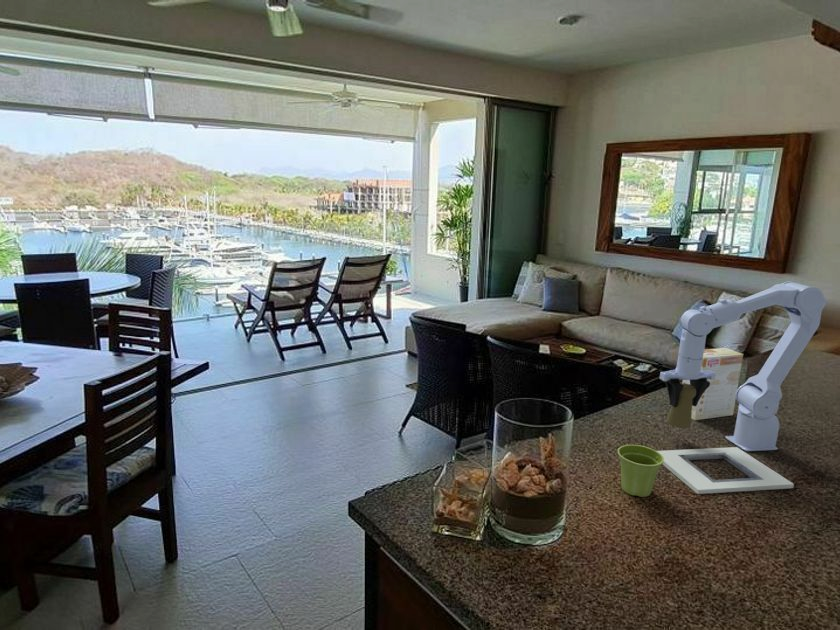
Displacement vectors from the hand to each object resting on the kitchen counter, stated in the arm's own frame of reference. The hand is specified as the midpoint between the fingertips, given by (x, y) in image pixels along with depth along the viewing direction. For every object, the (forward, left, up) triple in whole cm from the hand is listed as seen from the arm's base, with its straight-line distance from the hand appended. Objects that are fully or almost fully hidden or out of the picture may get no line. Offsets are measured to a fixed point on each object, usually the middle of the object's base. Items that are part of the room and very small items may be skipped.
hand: (683, 405), depth 142 cm
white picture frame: (0, +16, -10) cm, 19 cm away
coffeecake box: (-20, -16, -10) cm, 28 cm away
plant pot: (+25, +22, -10) cm, 35 cm away
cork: (+1, 0, -5) cm, 5 cm away
